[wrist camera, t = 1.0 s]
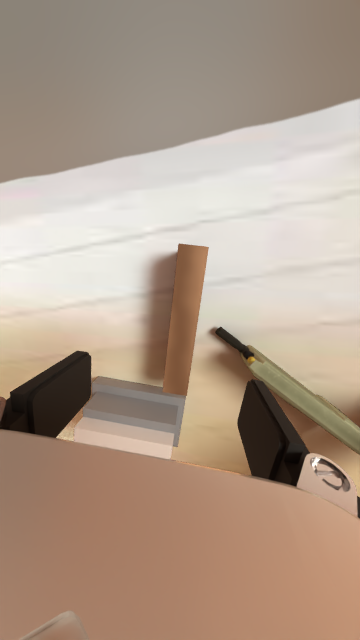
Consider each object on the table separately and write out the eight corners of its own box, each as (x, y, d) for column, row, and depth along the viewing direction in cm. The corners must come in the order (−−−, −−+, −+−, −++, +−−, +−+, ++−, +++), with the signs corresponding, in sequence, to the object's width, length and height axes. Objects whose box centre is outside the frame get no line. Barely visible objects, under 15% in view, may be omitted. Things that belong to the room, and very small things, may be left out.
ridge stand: (186, 391, 31) (182, 429, 23) (178, 437, 33) (173, 485, 25) (98, 376, 32) (66, 408, 24) (97, 421, 34) (68, 464, 26)
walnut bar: (205, 253, 26) (208, 247, 20) (188, 375, 30) (186, 395, 25) (182, 250, 26) (178, 243, 20) (168, 372, 31) (162, 392, 25)
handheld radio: (323, 422, 30) (209, 335, 28) (338, 409, 30) (222, 320, 28) (360, 460, 24) (215, 351, 22) (380, 444, 23) (232, 331, 21)
